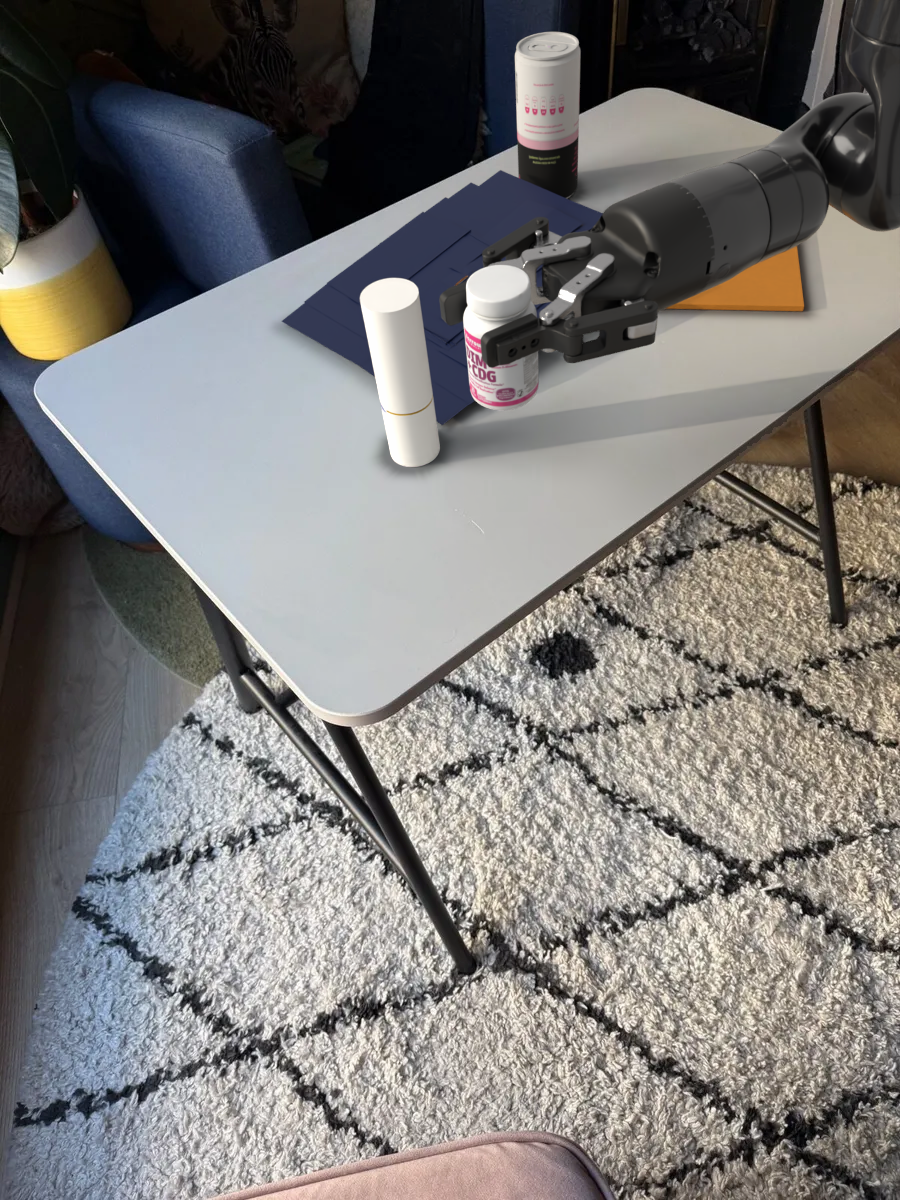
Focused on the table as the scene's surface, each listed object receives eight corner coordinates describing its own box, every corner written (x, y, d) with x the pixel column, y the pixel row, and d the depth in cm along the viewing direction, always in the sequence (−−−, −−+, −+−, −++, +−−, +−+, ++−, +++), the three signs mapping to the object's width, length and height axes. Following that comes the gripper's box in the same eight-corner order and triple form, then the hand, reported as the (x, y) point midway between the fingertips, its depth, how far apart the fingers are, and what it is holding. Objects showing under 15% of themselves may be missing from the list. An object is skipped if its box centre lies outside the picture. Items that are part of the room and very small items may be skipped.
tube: (450, 446, 75) (430, 290, 63) (415, 474, 73) (388, 319, 61) (415, 425, 77) (389, 271, 65) (380, 452, 75) (347, 298, 63)
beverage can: (528, 174, 102) (525, 29, 90) (583, 179, 100) (587, 32, 88) (511, 203, 98) (506, 56, 86) (568, 208, 96) (571, 59, 84)
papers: (666, 263, 86) (667, 230, 83) (450, 448, 78) (442, 419, 75) (491, 188, 98) (486, 156, 95) (288, 341, 90) (276, 312, 87)
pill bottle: (460, 406, 60) (447, 298, 53) (484, 363, 63) (475, 256, 56) (525, 418, 59) (520, 309, 52) (548, 374, 61) (546, 265, 55)
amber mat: (793, 230, 90) (794, 224, 89) (803, 311, 81) (804, 306, 81) (634, 229, 92) (635, 224, 92) (628, 308, 84) (629, 302, 84)
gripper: (621, 144, 60) (403, 227, 56) (764, 232, 52) (520, 337, 48) (616, 244, 66) (418, 326, 62) (743, 338, 58) (524, 439, 54)
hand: (464, 330), depth 55 cm, fingers closed on pill bottle, 4 cm apart
